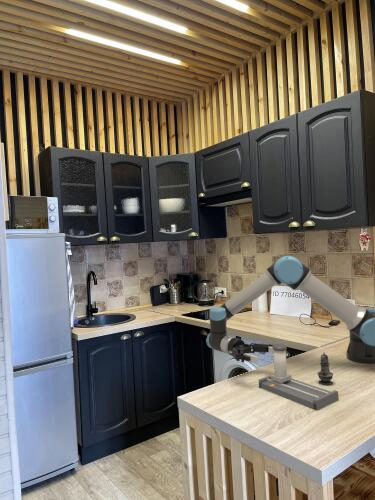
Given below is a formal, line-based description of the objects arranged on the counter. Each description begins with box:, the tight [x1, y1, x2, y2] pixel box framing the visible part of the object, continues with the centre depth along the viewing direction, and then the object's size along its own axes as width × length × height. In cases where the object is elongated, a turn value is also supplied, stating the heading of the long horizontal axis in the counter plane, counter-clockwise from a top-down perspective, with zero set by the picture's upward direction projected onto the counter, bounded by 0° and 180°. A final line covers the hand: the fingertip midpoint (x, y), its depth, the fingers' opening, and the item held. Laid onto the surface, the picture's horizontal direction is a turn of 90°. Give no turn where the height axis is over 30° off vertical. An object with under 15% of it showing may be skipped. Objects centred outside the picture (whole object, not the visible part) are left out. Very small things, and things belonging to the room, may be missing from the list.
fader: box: [270, 343, 293, 383], centre depth 137 cm, size 6×5×13 cm
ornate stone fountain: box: [317, 351, 334, 387], centre depth 140 cm, size 6×6×12 cm
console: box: [258, 374, 340, 411], centre depth 132 cm, size 12×26×3 cm, turn 34°
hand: (269, 356), depth 141 cm, fingers open, 13 cm apart
